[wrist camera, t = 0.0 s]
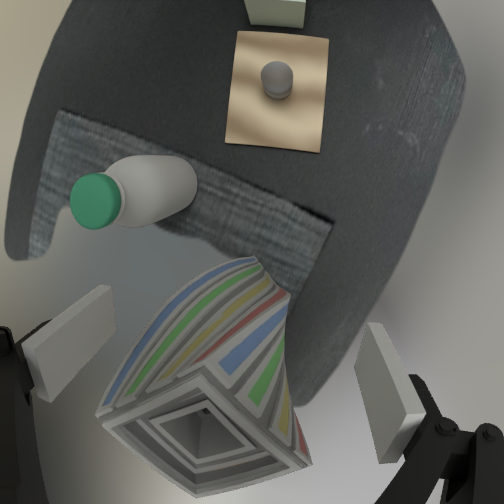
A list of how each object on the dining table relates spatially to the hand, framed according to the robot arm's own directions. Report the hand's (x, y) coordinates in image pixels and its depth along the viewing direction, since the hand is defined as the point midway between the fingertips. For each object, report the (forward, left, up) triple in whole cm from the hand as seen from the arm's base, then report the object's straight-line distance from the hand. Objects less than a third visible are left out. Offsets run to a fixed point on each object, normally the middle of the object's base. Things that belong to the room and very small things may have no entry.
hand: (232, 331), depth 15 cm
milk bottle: (-4, -13, -28) cm, 31 cm away
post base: (-18, 0, -28) cm, 33 cm away
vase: (+8, -1, -28) cm, 29 cm away
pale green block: (-31, -1, -28) cm, 42 cm away
